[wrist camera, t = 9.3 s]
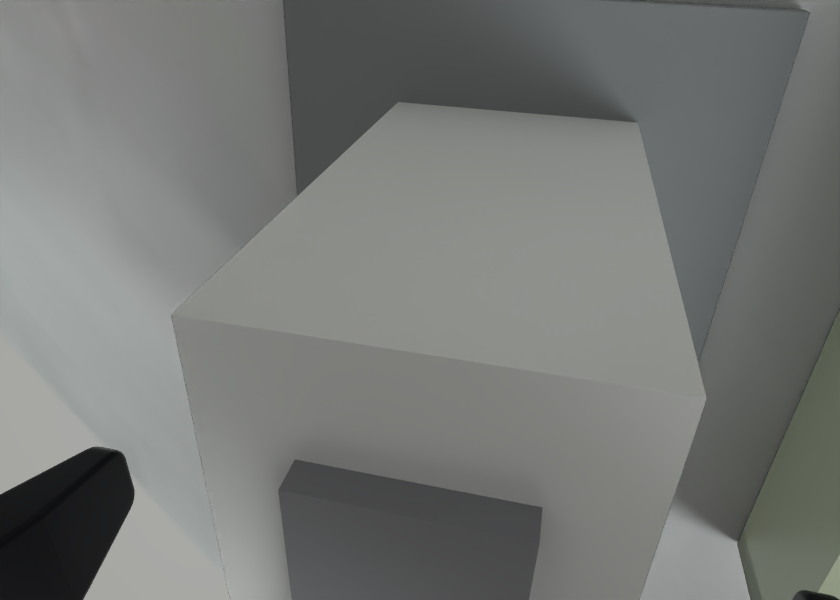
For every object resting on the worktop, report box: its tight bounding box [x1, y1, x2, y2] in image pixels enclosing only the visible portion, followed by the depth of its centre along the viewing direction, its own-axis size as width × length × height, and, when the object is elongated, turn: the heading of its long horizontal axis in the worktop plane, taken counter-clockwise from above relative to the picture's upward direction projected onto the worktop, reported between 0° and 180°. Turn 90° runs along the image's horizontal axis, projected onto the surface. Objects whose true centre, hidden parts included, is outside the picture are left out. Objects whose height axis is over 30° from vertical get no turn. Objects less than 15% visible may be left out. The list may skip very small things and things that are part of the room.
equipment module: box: [171, 102, 707, 600], centre depth 10 cm, size 8×4×8 cm, turn 178°
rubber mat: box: [283, 0, 810, 362], centre depth 14 cm, size 12×9×1 cm
